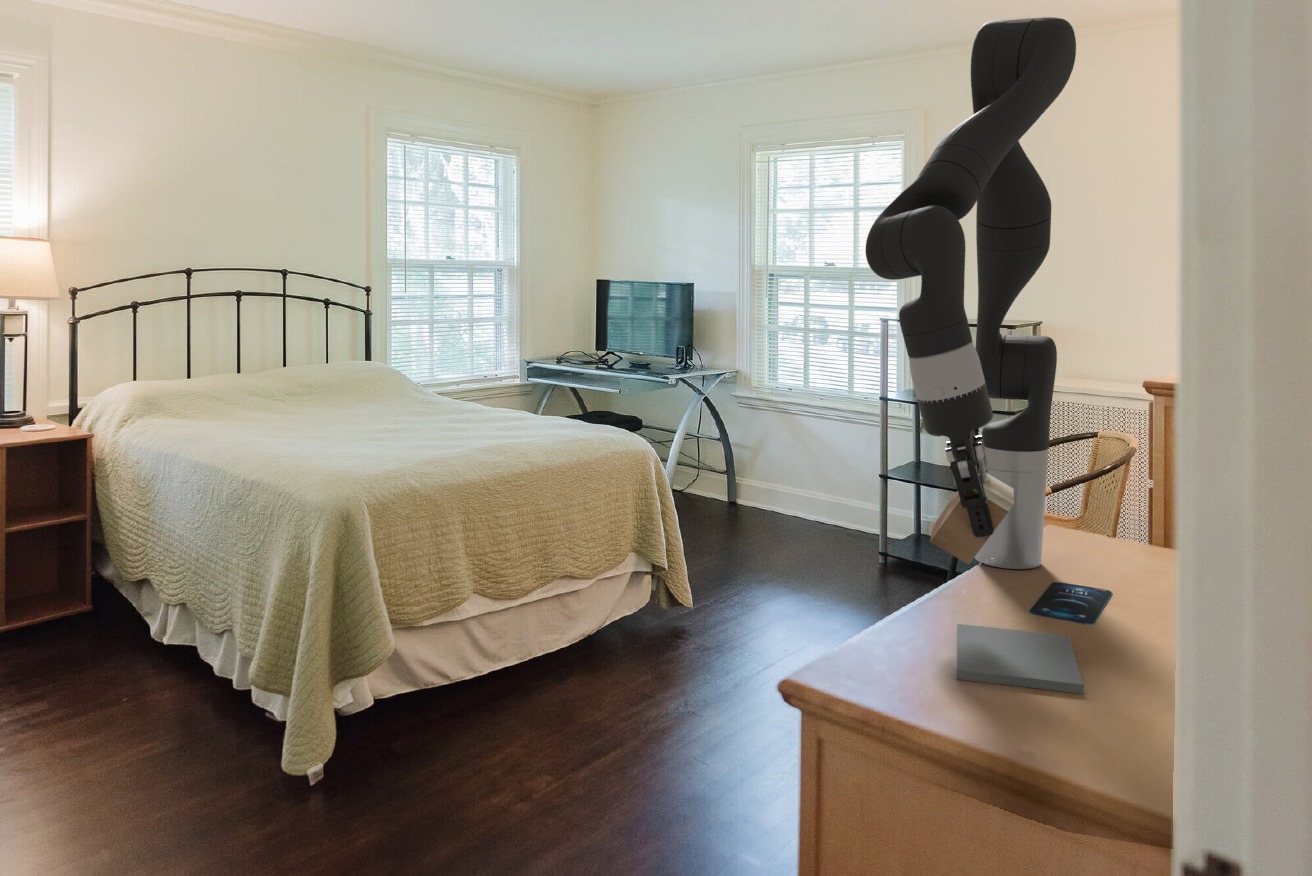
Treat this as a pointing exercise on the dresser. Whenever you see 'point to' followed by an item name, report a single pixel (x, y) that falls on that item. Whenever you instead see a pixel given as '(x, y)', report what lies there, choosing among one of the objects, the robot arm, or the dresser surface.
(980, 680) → the slate mat
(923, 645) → the dresser surface
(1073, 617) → the smartphone
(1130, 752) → the dresser surface
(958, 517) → the tan rectangular block
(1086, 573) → the dresser surface
